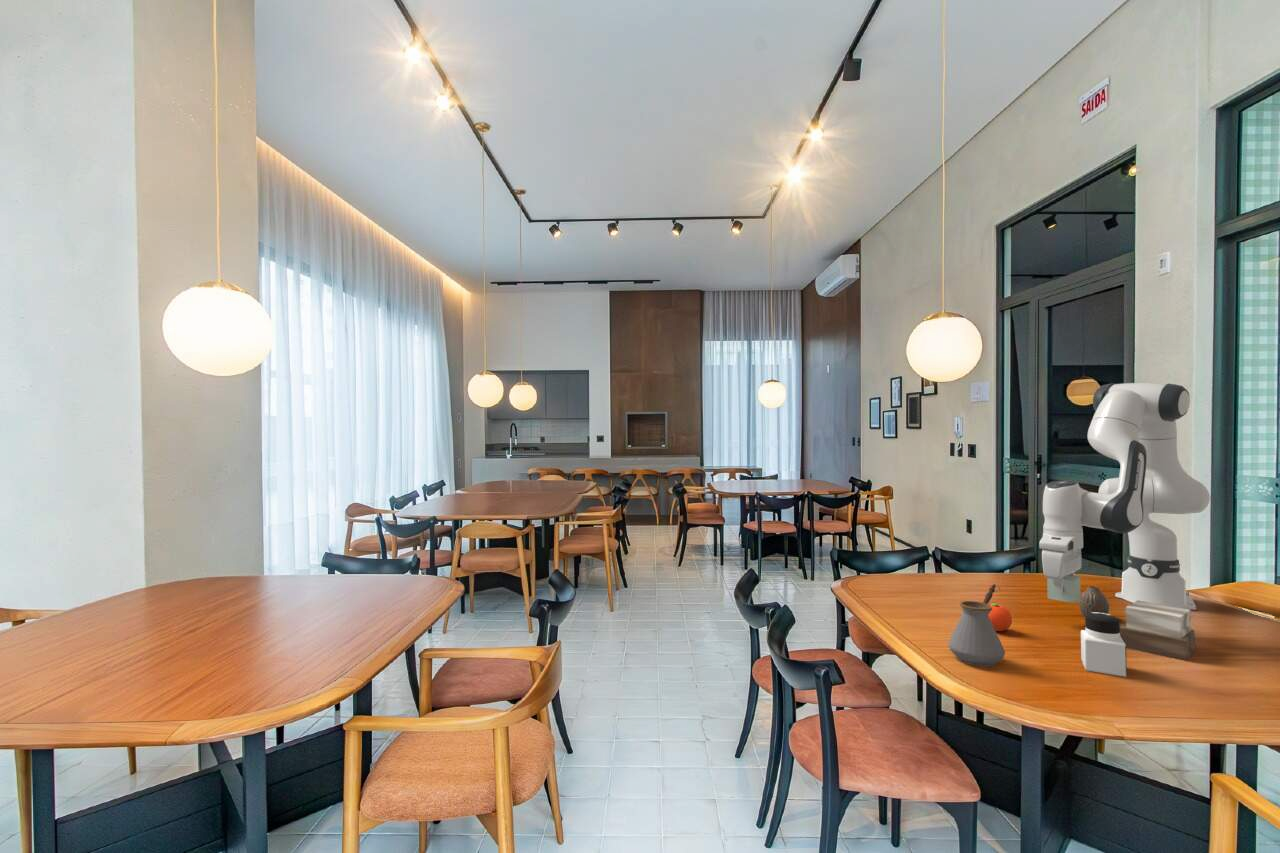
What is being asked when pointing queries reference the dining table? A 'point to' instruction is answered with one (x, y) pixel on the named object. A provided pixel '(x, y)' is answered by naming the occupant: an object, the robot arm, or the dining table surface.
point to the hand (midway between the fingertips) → (1064, 590)
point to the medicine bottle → (1103, 645)
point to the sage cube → (1065, 589)
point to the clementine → (1000, 617)
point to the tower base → (1159, 643)
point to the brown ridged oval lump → (1093, 601)
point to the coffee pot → (976, 634)
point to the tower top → (1158, 619)
